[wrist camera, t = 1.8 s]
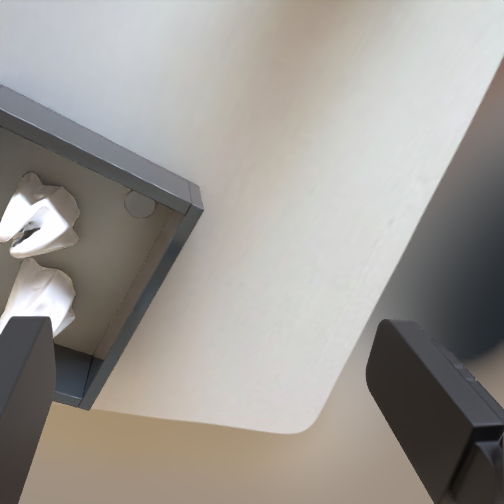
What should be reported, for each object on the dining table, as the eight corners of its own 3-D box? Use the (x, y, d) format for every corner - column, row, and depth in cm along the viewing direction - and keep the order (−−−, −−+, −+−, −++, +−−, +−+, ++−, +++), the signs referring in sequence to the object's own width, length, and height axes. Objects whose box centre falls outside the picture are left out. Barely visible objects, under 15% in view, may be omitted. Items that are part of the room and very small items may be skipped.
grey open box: (-93, 306, 35) (-136, 349, 30) (-11, 77, 29) (-48, 84, 24) (98, 367, 40) (89, 411, 36) (199, 186, 35) (204, 209, 30)
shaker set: (79, 310, 38) (47, 405, 28) (27, 307, 37) (-25, 404, 27) (81, 178, 33) (44, 235, 23) (21, 170, 32) (-44, 227, 22)
